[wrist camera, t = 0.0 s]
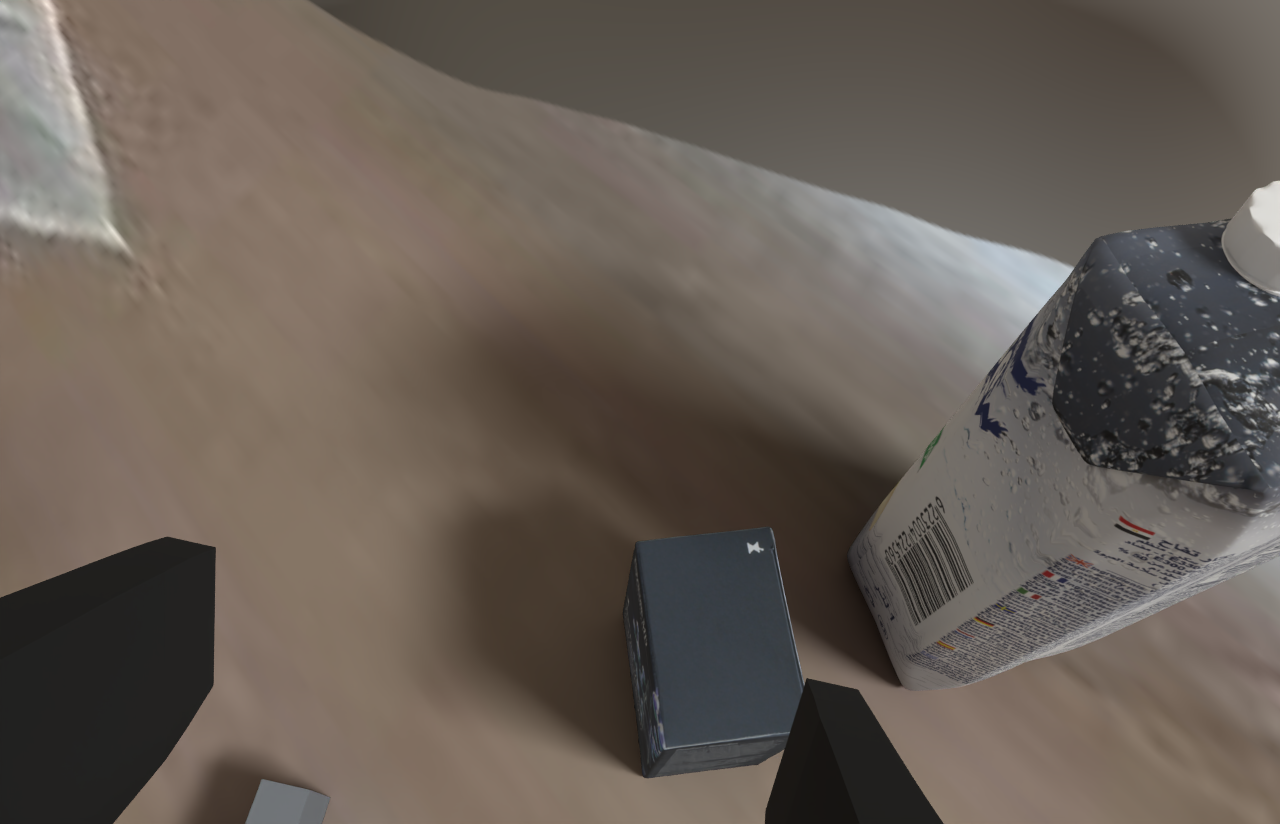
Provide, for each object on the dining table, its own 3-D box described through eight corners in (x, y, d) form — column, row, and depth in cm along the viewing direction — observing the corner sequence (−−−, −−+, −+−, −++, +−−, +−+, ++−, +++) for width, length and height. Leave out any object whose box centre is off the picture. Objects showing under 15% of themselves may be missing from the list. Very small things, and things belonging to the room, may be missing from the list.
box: (619, 610, 44) (633, 536, 35) (733, 598, 45) (776, 522, 35) (640, 783, 40) (662, 751, 31) (763, 766, 41) (820, 731, 32)
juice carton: (1081, 652, 45) (1670, 386, 21) (890, 718, 43) (1304, 504, 19) (996, 492, 48) (1413, 110, 25) (817, 545, 46) (1084, 183, 22)
